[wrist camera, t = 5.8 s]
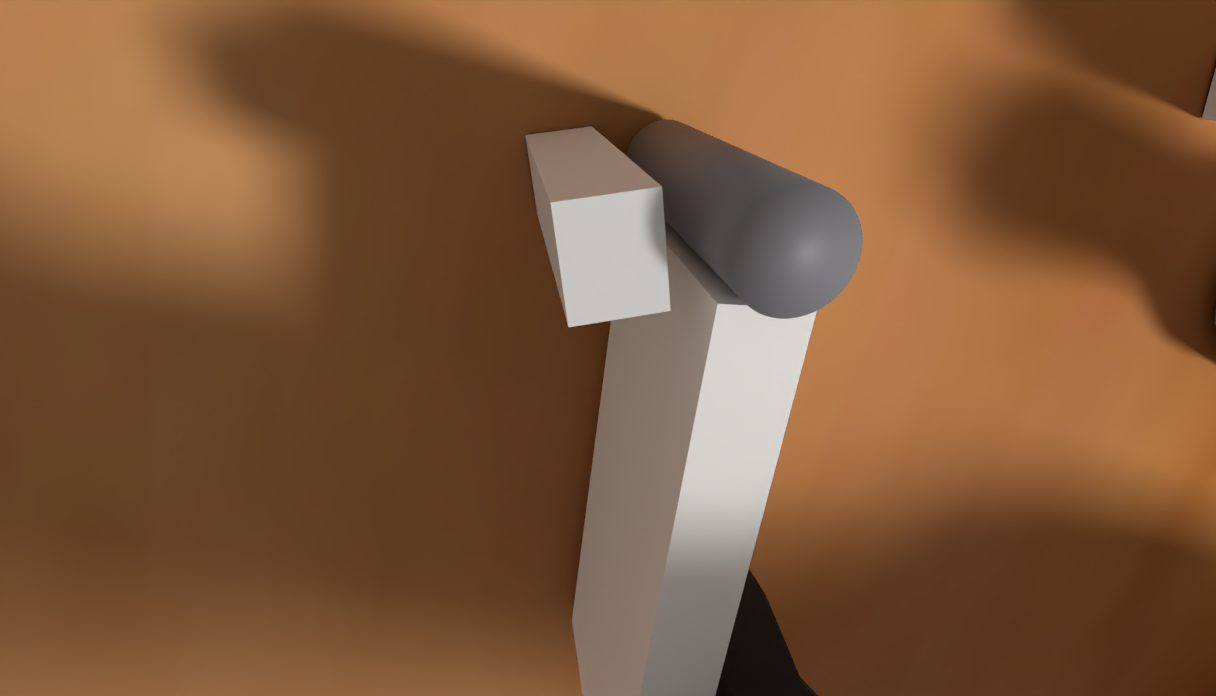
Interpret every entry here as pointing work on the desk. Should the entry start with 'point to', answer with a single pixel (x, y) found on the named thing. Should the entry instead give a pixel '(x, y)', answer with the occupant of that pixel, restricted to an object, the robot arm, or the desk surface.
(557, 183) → the wall
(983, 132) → the desk surface
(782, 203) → the door
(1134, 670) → the desk surface
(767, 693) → the robot arm
